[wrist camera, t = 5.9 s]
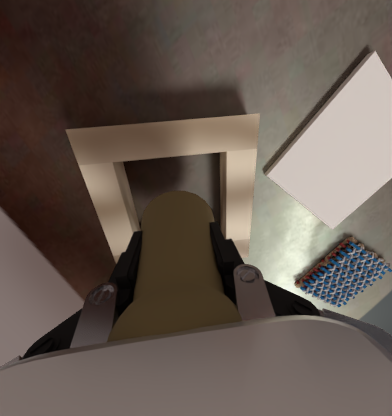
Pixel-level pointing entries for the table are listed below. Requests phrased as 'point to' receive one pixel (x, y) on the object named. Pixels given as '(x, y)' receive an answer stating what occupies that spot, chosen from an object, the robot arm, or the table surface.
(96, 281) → the table surface
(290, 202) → the table surface
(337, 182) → the ceramic tile
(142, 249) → the cork
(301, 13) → the table surface
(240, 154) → the wooden holder
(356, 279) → the woven mat
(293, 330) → the robot arm
